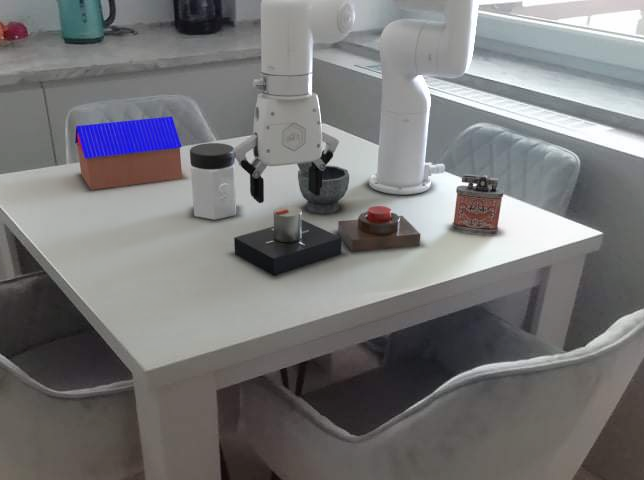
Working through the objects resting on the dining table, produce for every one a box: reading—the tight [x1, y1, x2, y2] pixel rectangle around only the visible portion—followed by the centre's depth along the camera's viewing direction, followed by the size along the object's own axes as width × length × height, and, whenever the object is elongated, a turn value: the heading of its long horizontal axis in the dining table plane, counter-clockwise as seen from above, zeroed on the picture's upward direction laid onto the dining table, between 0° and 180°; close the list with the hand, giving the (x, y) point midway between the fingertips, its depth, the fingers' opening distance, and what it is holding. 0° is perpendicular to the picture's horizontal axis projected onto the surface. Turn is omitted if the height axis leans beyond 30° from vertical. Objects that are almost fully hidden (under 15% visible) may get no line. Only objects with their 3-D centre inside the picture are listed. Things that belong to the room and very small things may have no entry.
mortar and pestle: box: [296, 162, 350, 215], centre depth 141 cm, size 11×9×12 cm
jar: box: [189, 142, 237, 221], centre depth 140 cm, size 9×8×12 cm
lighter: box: [451, 173, 505, 236], centre depth 132 cm, size 8×3×10 cm, turn 71°
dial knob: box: [273, 205, 303, 242], centre depth 123 cm, size 5×5×5 cm
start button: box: [367, 205, 392, 222], centre depth 129 cm, size 4×4×2 cm
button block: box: [337, 210, 421, 253], centre depth 130 cm, size 12×9×4 cm
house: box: [74, 116, 183, 191], centre depth 159 cm, size 12×20×12 cm, turn 113°
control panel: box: [233, 219, 343, 277], centre depth 125 cm, size 14×11×3 cm
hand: (286, 196), depth 120 cm, fingers open, 9 cm apart
